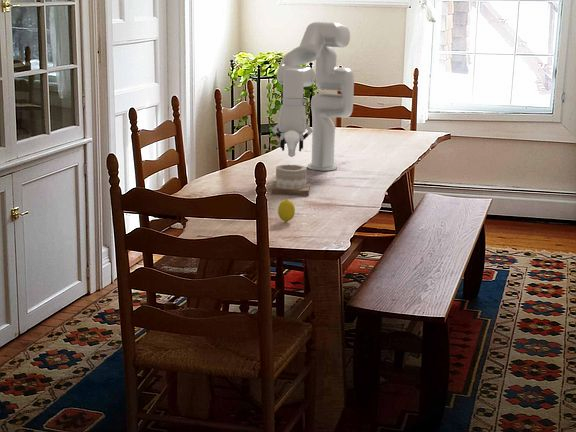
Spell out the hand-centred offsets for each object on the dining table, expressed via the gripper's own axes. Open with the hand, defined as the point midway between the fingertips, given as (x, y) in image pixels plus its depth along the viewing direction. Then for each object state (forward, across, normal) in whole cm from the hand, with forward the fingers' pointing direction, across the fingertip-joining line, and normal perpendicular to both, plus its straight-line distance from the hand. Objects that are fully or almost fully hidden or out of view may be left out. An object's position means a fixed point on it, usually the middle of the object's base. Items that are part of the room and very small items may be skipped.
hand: (291, 149), depth 347 cm
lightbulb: (+3, 0, 0) cm, 3 cm away
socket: (+16, 0, 0) cm, 16 cm away
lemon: (+16, -1, +45) cm, 48 cm away
